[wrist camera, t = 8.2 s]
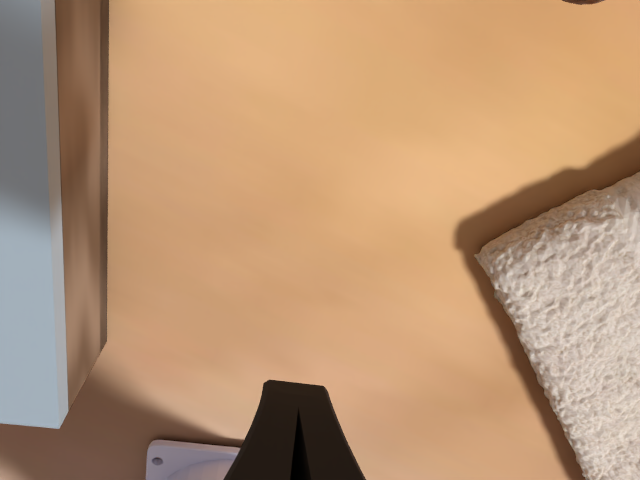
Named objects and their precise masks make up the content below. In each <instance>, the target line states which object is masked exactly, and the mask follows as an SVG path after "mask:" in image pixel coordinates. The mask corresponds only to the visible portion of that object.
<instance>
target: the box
mask: <svg viewBox="0 0 640 480" xmlns="http://www.w3.org/2000/svg"><path fill="white" fill-rule="evenodd" d="M55 26H56V56H57V86H58V115H59V145H60V175H61V204H62V234H63V264H64V294H65V323H66V353H67V383H68V410H70V408H71V406H72V404H73V402H74V400H75V399H76V397H77V395H78V393H79V391H80V389H81V388H82V386H83V384H84V382H85V380H86V378H87V377H88V375H89V373H90V371H91V369H92V367H93V366H94V364H95V362H96V360H97V358H98V356H99V355H100V353H101V351H102V349H103V347H104V345H105V344H106V342H107V217H108V56H109V0H55Z"/></svg>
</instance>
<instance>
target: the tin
mask: <svg viewBox="0 0 640 480" xmlns="http://www.w3.org/2000/svg"><path fill="white" fill-rule="evenodd" d="M562 1H565V2H569V3H573V4H580V5H582V4H595V3H598V2H601V1H604V0H562Z"/></svg>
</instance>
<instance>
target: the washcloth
mask: <svg viewBox="0 0 640 480" xmlns="http://www.w3.org/2000/svg"><path fill="white" fill-rule="evenodd" d="M474 256H475V258H476V259H477V261H478V262H479V264H480V265H481V266H482V267H483V269H484V271H485V272H486V274H487V276H488V277H490V280H491V284H492V286H493V287H494V288H495V290H496V291H494V297H495V298H496V299H498V301H499V302H500V303H501V304H502V305H503V309H504V311H505V312H506V313H507V314H508V315H509V317H510V318H511V321H512V322H513V324H514V326H515V328H516V330H517V335H518V338H519V339H520V343H521V345H522V346H523V347H524V352H525V353H526V354H527V356H528V359H529V361H530V364H531V366H532V368H533V369H534V371H535V373H536V377H537V380H538V383H539V385H541V386H542V387H543V389H544V395H545V396H546V397H547V398H548V399H549V400H550V406H551V407H552V409H553V412H554V411H555V414H556V415H557V420H559V421H560V424H561V426H562V428H563V430H564V431H565V433H564V434H565V437H566V438H567V439H568V441H569V443H570V445H571V447H572V448H573V450H574V451H575V454H576V461H577V463H578V464H580V466H581V469H582V471H583V473H582V475H583V476H584V477H585V479H586V480H640V171H639V172H637V173H635V174H634V175H633V176H631V177H627V178H624V179H622V180H620V181H618V182H616V183H615V184H614V185H612V186H610V187H606V188H604V189H602V190H596V189H593V190H589V191H586V192H584V194H582V195H578V196H576V197H575V198H574V199H571V200H569V201H568V202H566V203H564V204H562V205H561V206H558V207H554V208H551V209H550V210H549V211H548V212H544V213H542V214H540V215H539V216H538V217H536V218H533V219H531V220H526V221H525V222H524V223H523V224H522V225H520V226H518V227H516V228H513V229H510V230H509V231H508V232H506V233H503V234H502V235H501V236H499V237H497V238H496V239H493V240H491V241H490V242H489V243H487V244H486V245H485V246H482V250H481V251H480V253H479V254H474Z"/></svg>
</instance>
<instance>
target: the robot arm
mask: <svg viewBox="0 0 640 480" xmlns="http://www.w3.org/2000/svg"><path fill="white" fill-rule="evenodd" d="M156 457H159V458H161V459H159V458H156ZM146 480H366V479H365V477H364V475H363V473H362V471H361V469H360V467H359V465H358V463H357V461H356V459H355V457H354V455H353V453H352V451H351V449H350V447H349V445H348V442H347V440H346V438H345V436H344V433H343V431H342V429H341V426H340V424H339V422H338V419H337V417H336V414H335V411H334V409H333V406H332V403H331V400H330V397H329V394H328V391H327V390H326V388H325V387H324V386H319V385H310V384H302V383H293V382H285V381H276V380H268V381H267V382H265V383H264V385H263V391H262V396H261V400H260V403H259V407H258V409H257V412H256V415H255V417H254V420H253V422H252V425H251V427H250V429H249V431H248V433H247V436H246V438H245V440H244V442H243V444H242V446H241V448H237V447H227V446H217V445H208V444H198V443H188V442H178V441H169V440H154V441H152V442H151V443H150V445H149V447H148V451H147V464H146Z"/></svg>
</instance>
